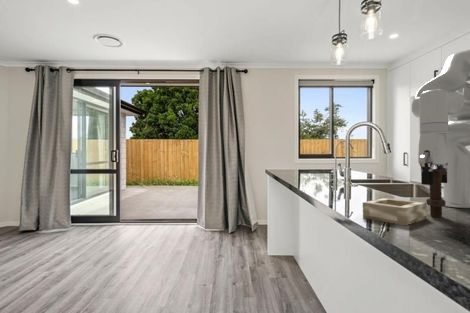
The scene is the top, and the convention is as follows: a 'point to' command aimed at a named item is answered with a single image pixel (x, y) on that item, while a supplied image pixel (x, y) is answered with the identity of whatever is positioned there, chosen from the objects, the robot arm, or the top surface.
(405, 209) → the socket block
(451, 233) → the top surface
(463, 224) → the top surface
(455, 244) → the top surface
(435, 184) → the bolt
